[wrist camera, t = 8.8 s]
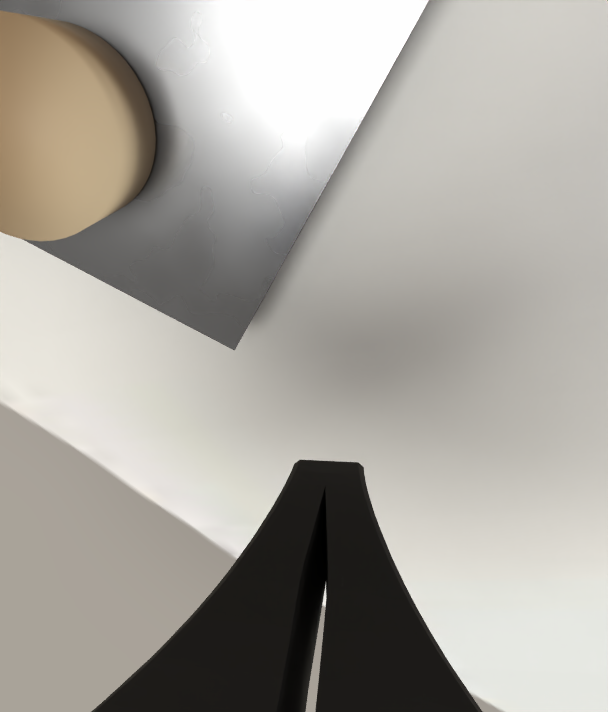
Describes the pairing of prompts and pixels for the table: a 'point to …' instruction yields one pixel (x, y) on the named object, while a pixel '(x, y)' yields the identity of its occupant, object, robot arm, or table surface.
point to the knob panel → (229, 139)
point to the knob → (67, 129)
